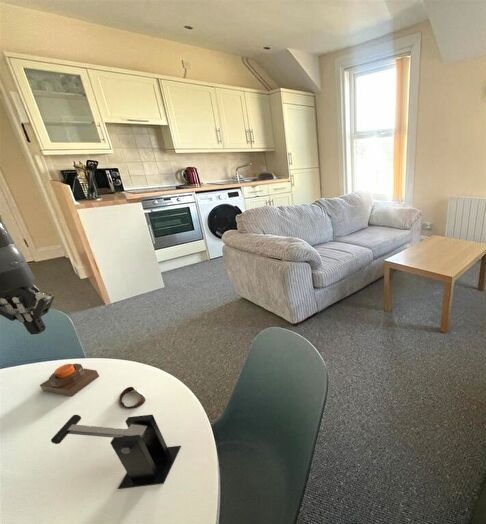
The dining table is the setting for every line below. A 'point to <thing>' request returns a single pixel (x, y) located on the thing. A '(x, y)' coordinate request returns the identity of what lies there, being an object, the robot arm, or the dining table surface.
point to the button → (64, 371)
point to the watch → (130, 391)
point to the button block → (70, 381)
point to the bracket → (144, 454)
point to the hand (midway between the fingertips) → (38, 332)
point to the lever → (97, 430)
